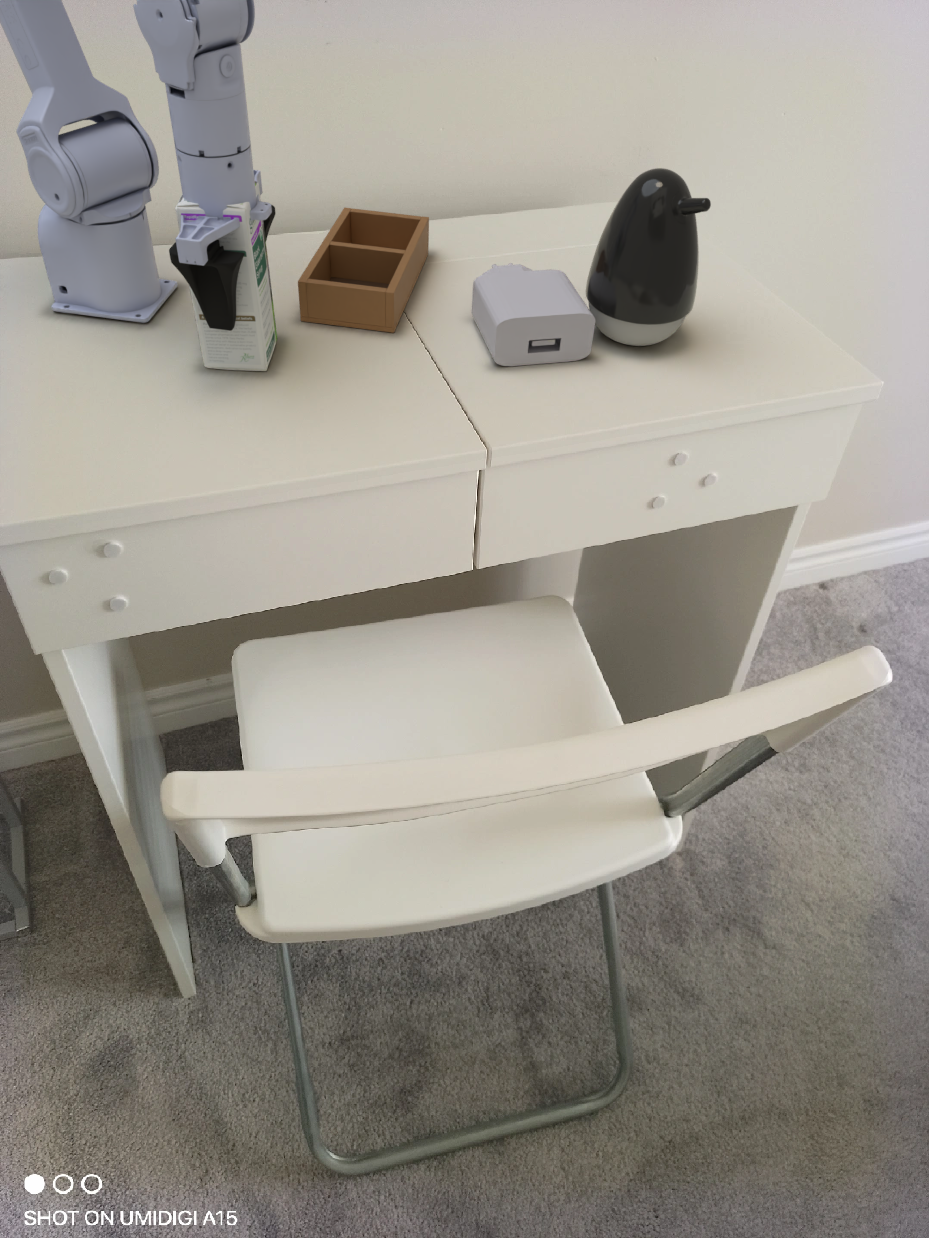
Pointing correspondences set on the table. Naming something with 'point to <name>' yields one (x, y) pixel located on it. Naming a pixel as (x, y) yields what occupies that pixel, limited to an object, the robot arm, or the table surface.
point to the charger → (531, 316)
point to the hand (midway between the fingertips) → (234, 309)
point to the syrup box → (240, 296)
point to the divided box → (364, 270)
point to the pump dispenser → (647, 261)
